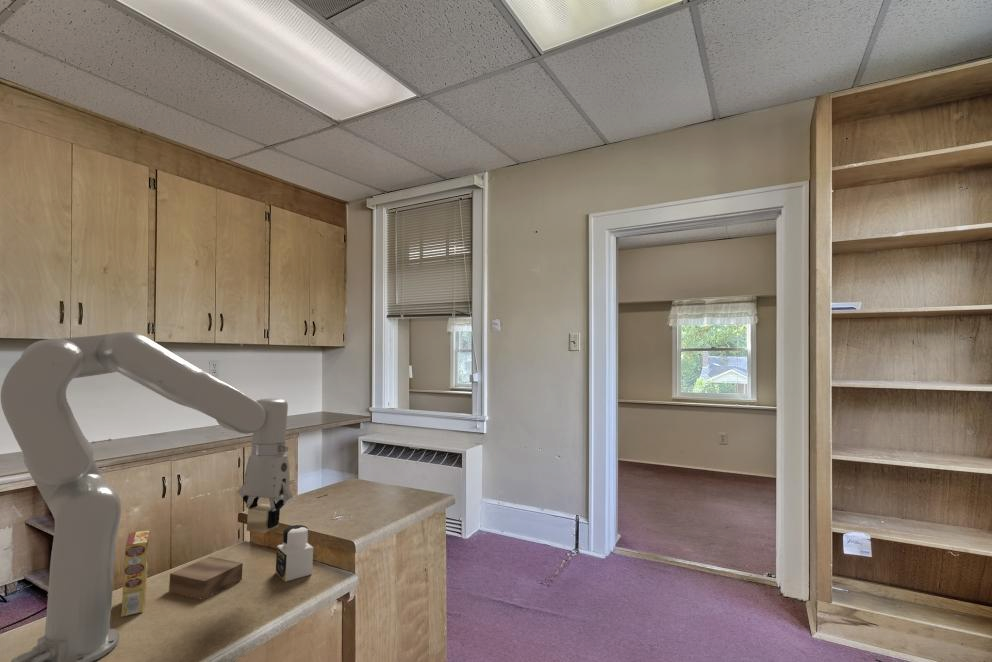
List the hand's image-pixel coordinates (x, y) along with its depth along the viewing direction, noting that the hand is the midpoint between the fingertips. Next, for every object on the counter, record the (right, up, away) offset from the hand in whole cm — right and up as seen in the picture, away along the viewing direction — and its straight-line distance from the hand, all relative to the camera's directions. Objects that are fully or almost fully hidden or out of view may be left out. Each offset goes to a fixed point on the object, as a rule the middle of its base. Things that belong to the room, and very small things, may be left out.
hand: (263, 524), depth 118 cm
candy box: (-25, -15, -9) cm, 30 cm away
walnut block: (-15, -16, +2) cm, 22 cm away
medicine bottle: (+3, -17, +10) cm, 20 cm away
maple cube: (0, -1, 0) cm, 1 cm away
